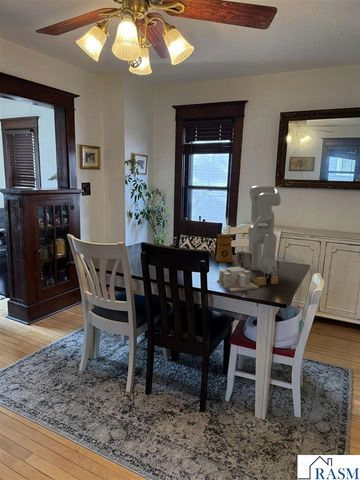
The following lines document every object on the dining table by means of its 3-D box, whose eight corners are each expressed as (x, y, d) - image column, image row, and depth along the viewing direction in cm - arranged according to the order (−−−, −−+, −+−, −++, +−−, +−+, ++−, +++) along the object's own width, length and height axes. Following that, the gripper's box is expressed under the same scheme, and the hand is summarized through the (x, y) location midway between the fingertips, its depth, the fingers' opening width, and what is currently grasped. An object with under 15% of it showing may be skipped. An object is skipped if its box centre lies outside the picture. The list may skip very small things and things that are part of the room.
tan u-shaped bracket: (247, 279, 213) (247, 273, 212) (266, 277, 218) (266, 271, 217) (257, 285, 201) (258, 278, 201) (277, 283, 206) (278, 276, 205)
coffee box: (251, 277, 217) (252, 254, 214) (243, 278, 215) (244, 254, 212) (243, 274, 225) (244, 251, 223) (235, 275, 223) (236, 251, 220)
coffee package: (232, 263, 254) (233, 235, 250) (215, 262, 255) (216, 234, 251) (231, 260, 263) (232, 233, 259) (216, 259, 265) (216, 232, 261)
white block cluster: (216, 281, 208) (217, 267, 206) (242, 279, 214) (242, 265, 212) (231, 291, 190) (231, 275, 188) (258, 288, 196) (259, 273, 194)
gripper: (256, 252, 207) (255, 280, 210) (271, 257, 193) (269, 287, 196) (266, 251, 209) (265, 279, 213) (282, 256, 195) (280, 286, 198)
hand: (267, 283), depth 204 cm, fingers closed on tan u-shaped bracket, 1 cm apart
